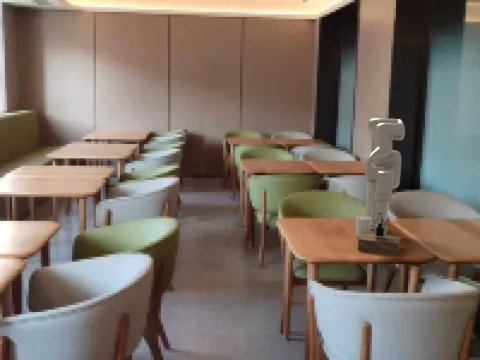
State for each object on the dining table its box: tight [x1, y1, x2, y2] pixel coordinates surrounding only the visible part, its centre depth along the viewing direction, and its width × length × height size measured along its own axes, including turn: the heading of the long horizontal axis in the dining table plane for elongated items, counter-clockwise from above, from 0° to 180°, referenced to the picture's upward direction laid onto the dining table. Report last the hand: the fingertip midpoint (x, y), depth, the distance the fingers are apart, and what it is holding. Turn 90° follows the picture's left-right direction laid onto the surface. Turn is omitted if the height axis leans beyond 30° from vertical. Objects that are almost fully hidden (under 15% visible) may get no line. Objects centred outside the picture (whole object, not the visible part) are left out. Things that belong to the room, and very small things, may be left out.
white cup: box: [355, 215, 372, 239], centre depth 293 cm, size 8×8×10 cm
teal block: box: [374, 223, 388, 237], centre depth 273 cm, size 5×5×5 cm
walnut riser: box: [357, 232, 402, 256], centre depth 274 cm, size 14×18×5 cm
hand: (380, 234), depth 274 cm, fingers closed on teal block, 4 cm apart
